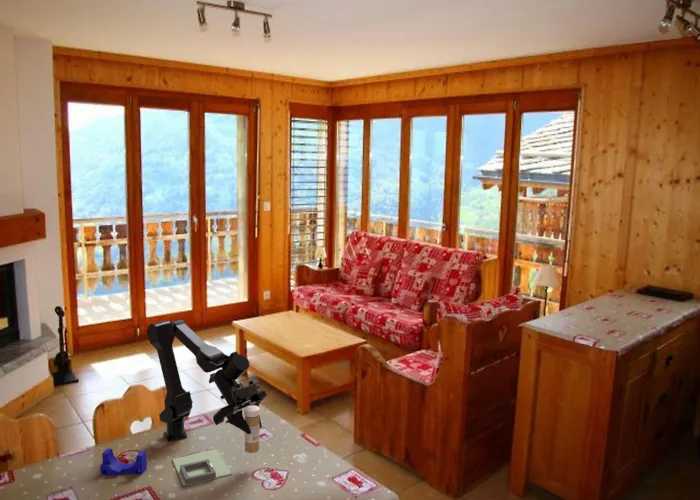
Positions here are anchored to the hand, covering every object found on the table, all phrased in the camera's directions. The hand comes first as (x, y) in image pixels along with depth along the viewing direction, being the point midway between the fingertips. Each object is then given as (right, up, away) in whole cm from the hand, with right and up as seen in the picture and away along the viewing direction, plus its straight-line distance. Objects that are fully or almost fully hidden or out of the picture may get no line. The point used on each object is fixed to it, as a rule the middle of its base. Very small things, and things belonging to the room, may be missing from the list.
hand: (255, 430), depth 168 cm
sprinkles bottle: (-1, -7, +2) cm, 7 cm away
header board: (-17, -11, +1) cm, 20 cm away
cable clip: (-39, -12, -2) cm, 41 cm away
